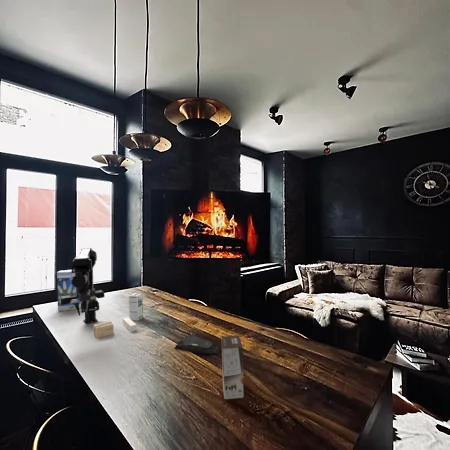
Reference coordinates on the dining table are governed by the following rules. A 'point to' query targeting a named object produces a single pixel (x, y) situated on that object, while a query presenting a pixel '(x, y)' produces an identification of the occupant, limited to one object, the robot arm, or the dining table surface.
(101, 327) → the oak block
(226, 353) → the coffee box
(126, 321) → the plank
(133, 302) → the syrup box
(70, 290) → the string lights box
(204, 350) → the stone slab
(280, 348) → the dining table surface
